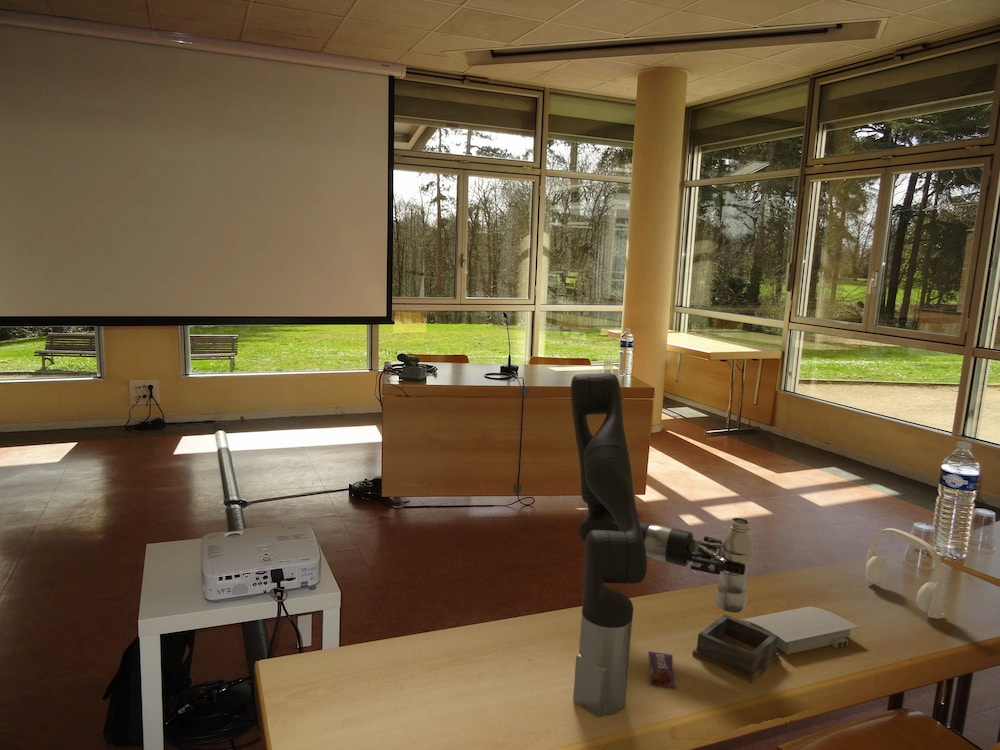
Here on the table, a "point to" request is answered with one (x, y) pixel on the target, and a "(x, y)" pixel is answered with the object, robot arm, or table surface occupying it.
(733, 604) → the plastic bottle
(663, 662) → the snack package
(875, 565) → the headset
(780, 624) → the white router
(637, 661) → the table surface
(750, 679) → the open square tray
